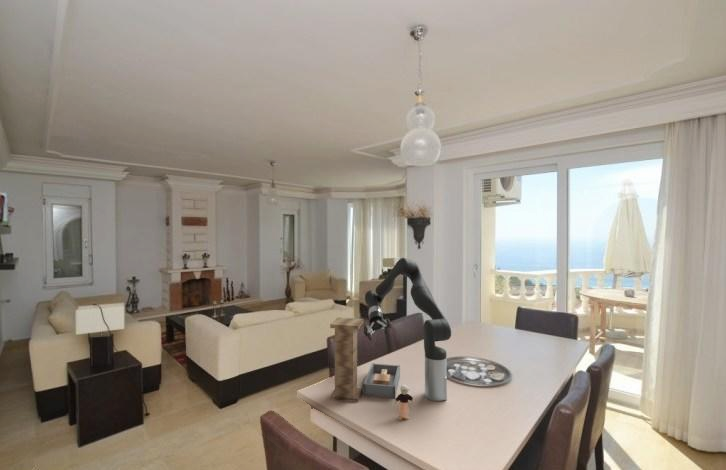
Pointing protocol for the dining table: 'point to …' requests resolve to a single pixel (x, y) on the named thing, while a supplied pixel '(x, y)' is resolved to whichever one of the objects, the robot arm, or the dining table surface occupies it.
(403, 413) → the grandmother figurine
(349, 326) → the brown tall square column
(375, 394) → the tote
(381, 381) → the mallet
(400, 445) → the dining table surface
